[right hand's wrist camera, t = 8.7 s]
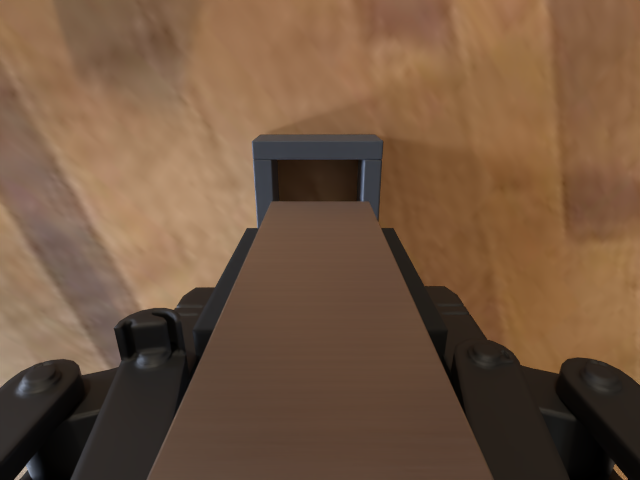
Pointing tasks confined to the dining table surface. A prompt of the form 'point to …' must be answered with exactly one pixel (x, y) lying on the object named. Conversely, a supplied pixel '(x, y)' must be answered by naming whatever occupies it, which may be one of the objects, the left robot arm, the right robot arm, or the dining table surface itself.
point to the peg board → (316, 148)
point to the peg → (320, 366)
